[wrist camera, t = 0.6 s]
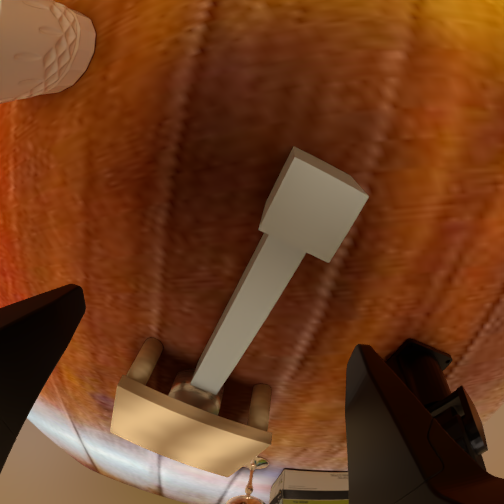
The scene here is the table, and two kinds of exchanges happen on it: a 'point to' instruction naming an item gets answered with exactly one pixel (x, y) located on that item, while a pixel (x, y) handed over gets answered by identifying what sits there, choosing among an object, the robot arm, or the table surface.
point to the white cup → (41, 47)
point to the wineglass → (250, 483)
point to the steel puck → (195, 393)
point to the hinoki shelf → (186, 422)
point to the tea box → (310, 488)
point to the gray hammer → (281, 254)
